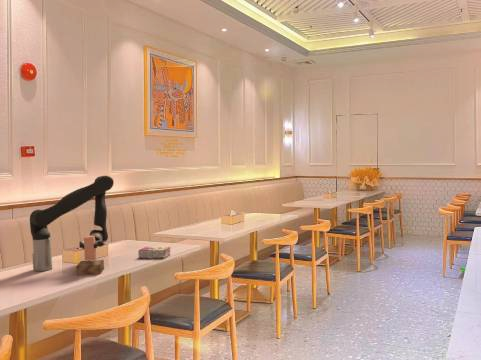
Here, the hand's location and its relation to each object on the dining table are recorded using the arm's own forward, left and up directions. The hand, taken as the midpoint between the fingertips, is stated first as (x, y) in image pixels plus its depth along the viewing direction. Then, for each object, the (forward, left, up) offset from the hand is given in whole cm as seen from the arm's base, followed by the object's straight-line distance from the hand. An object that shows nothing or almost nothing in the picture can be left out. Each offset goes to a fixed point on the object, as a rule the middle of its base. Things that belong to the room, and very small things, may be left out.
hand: (89, 246), depth 264 cm
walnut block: (0, +3, -14) cm, 14 cm away
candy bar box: (+24, +36, -11) cm, 45 cm away
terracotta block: (0, +3, -7) cm, 7 cm away
